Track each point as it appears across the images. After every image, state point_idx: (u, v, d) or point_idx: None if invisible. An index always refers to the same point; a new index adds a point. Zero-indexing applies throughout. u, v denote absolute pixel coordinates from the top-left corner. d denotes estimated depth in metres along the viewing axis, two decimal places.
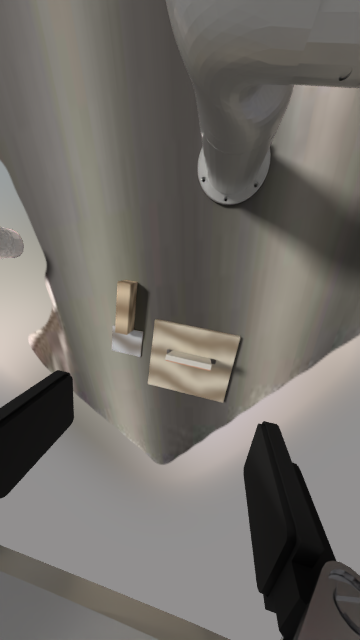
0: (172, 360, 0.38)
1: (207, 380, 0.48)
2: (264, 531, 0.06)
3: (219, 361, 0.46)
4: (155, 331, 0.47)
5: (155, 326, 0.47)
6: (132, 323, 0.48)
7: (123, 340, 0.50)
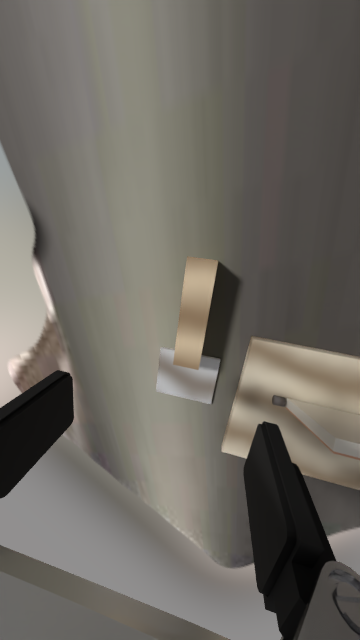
0: (354, 454, 0.15)
1: None
2: (264, 531, 0.06)
3: None
4: (250, 360, 0.24)
5: (252, 351, 0.23)
6: None
7: (179, 374, 0.27)
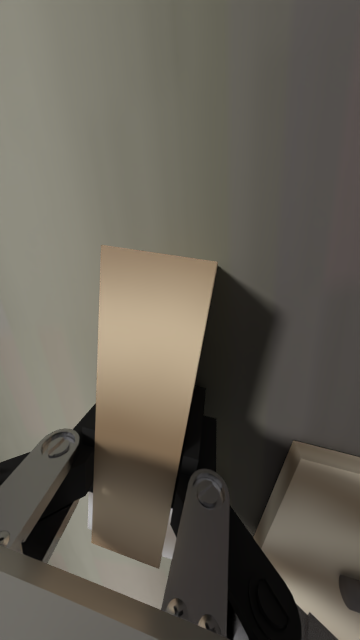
0: None
1: None
2: None
3: None
4: (292, 501, 0.10)
5: (296, 483, 0.10)
6: None
7: None
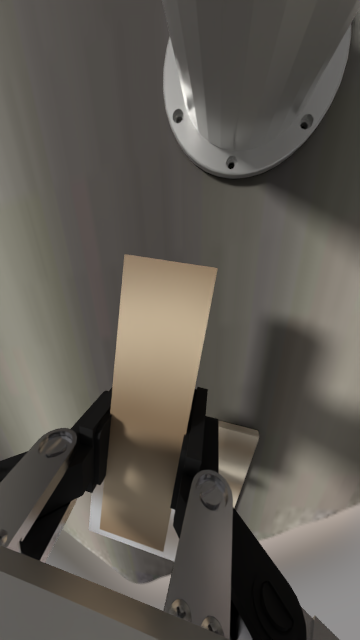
0: None
1: None
2: None
3: (220, 470, 0.26)
4: None
5: None
6: None
7: None
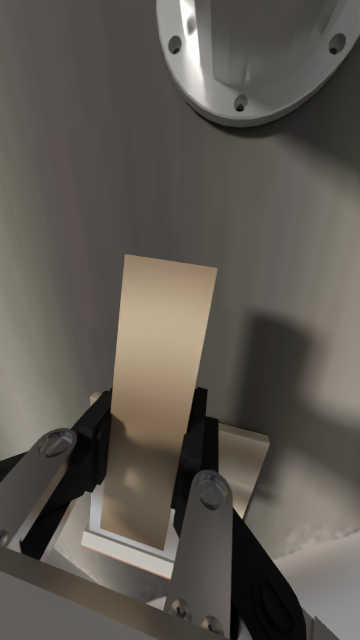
0: (100, 548, 0.14)
1: None
2: None
3: None
4: None
5: None
6: None
7: None
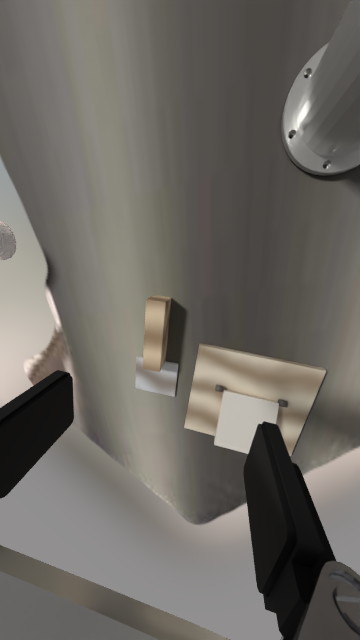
0: None
1: None
2: (264, 531, 0.06)
3: (290, 402, 0.33)
4: (199, 360, 0.34)
5: (199, 353, 0.34)
6: (164, 354, 0.35)
7: (150, 375, 0.37)
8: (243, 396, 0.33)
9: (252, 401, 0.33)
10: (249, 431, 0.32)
